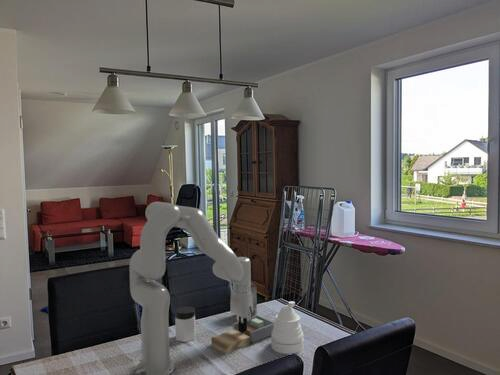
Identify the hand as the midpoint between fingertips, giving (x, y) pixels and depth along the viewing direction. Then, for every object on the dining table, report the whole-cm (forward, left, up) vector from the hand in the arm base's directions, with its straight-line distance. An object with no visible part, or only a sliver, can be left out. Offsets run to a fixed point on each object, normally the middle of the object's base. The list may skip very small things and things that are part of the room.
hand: (242, 331), depth 164 cm
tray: (+7, 0, -4) cm, 8 cm away
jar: (-16, +18, -4) cm, 25 cm away
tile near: (+4, 0, -3) cm, 5 cm away
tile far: (+7, 0, 0) cm, 7 cm away
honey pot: (+9, -17, -4) cm, 19 cm away
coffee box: (+18, +18, -4) cm, 26 cm away
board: (-6, 0, -4) cm, 7 cm away
